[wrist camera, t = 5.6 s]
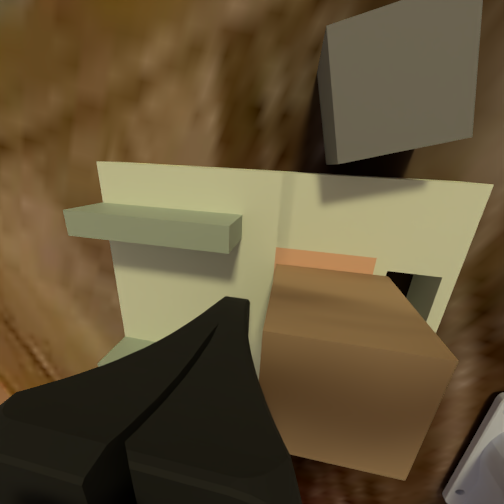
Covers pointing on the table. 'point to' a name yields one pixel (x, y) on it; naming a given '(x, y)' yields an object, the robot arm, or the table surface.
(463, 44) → the charcoal block
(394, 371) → the walnut block
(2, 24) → the table surface
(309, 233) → the board
